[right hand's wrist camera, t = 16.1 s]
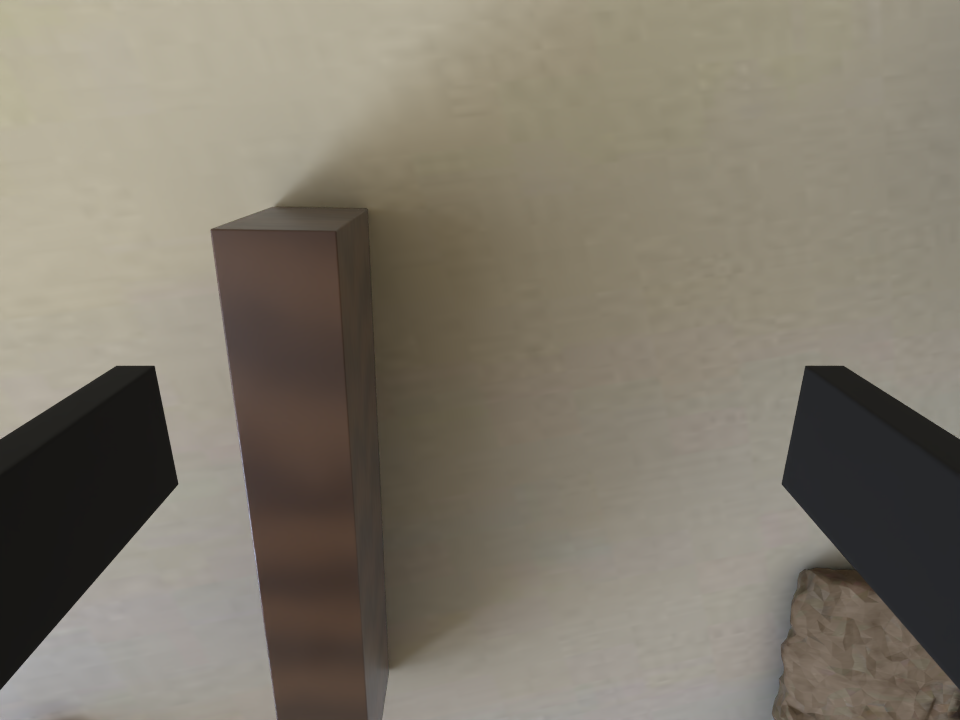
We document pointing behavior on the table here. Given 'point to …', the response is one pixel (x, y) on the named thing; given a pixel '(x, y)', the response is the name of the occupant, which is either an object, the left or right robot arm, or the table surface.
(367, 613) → the plank
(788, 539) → the table surface
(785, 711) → the stone
